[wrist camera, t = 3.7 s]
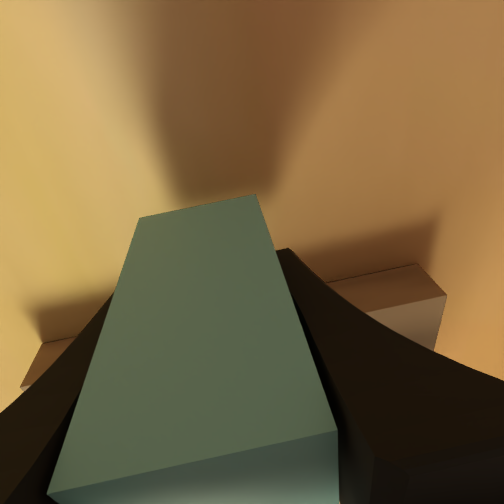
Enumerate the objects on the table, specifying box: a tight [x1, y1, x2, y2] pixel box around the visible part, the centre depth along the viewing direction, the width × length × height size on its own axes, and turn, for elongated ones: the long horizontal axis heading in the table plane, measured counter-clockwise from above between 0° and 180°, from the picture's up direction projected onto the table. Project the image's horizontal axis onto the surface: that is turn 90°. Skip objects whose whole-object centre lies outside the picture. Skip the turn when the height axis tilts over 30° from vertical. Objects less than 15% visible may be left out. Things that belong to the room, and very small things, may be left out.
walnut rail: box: [20, 264, 447, 391], centre depth 18 cm, size 8×20×2 cm, turn 99°
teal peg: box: [47, 194, 339, 504], centre depth 9 cm, size 4×4×8 cm
